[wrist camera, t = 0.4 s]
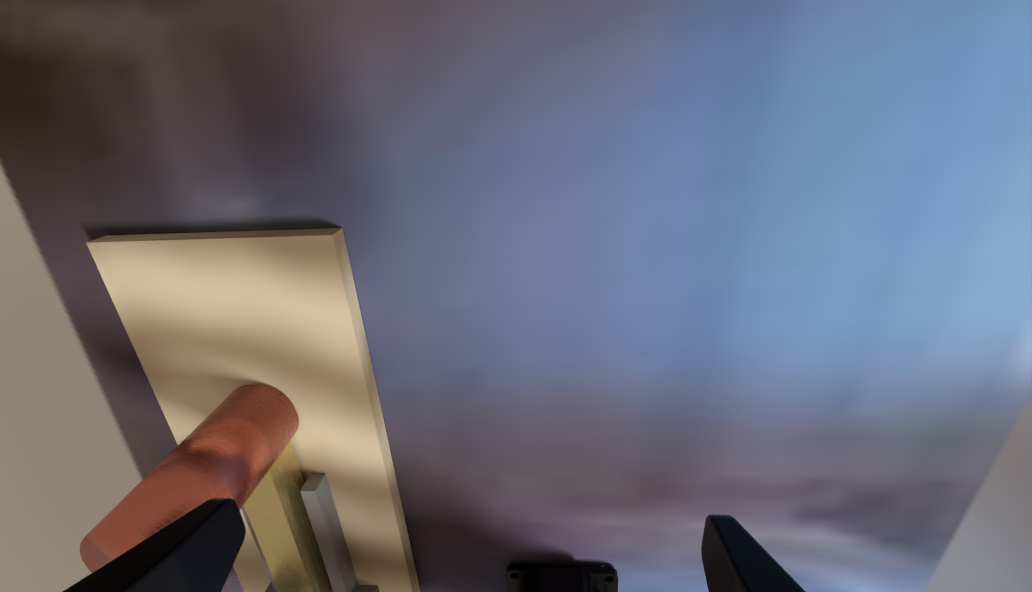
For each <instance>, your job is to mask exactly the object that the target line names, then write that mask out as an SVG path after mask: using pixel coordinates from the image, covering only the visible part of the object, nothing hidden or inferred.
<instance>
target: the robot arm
mask: <svg viewBox="0 0 1032 592" xmlns="http://www.w3.org/2000/svg"><path fill="white" fill-rule="evenodd" d="M245 534H246V528H245V524H244V522H243V519H242V516H241V513H240V510H239V508H238V505H237V503H236V501H235V500H234V499H233V498H219V497H215V498H211V499H209V500H207V501H205V502H204V503H202V504H201V505H199V506H197V507H196V508H194V509H193V510H191V511H189V512H188V513H186V514H185V515H183V516H182V517H180V518H178V519H177V520H175V521H174V522H172V523H171V524H169V525H167V526H166V527H164V528H163V529H161V530H159V531H158V532H156V533H155V534H153V535H152V536H150V537H148V538H147V539H145V540H144V541H142V542H140V543H139V544H137V545H136V546H134V547H133V548H131V549H129V550H128V551H126V552H125V553H123V554H122V555H120V556H118V557H117V558H115V559H114V560H112V561H110V562H109V563H107V564H106V565H104V566H103V567H101V568H99V569H98V570H96V571H95V572H93V573H92V574H90V575H88V576H87V577H85V578H84V579H82V580H80V581H79V582H77V583H76V584H74V585H73V586H71V587H69V588H68V589H66V590H65V591H63V592H221V591H222V588H223V586H224V584H225V582H226V580H227V577H228V575H229V573H230V571H231V568H232V566H233V564H234V562H235V560H236V557H237V555H238V553H239V551H240V549H241V546H242V544H243V542H244V539H245ZM701 552H702V561H703V566H704V571H705V575H706V580H707V585H708V590H709V592H805V591H804V590H803V589H802V588H801V587H800V585H799V584H798V583H797V582H796V581H795V580H794V579H793V578H792V577H791V576H790V575H789V574H788V573H787V572H786V571H785V570H784V569H783V568H782V567H781V566H780V565H779V564H778V563H777V562H776V561H775V560H774V559H773V558H772V557H771V556H770V555H769V553H768V552H767V551H766V550H765V549H764V548H763V547H762V546H761V545H760V544H759V543H758V542H757V541H756V540H755V539H754V538H753V537H752V536H751V535H750V534H749V533H748V532H747V531H746V530H745V529H744V528H743V527H742V526H741V525H740V524H739V522H738V521H737V520H736V519H735V518H733V517H732V516H730V515H713V514H711V515H708V516H707V518H706V521H705V528H704V534H703V540H702V548H701ZM506 576H507V587H508V592H617V591H618V575H617V571H616V570H615V569H614V568H611V567H591V566H562V565H533V564H511V565H509V566H508V567H507V575H506Z"/></svg>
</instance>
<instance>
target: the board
mask: <svg viewBox="0 0 1032 592" xmlns="http://www.w3.org/2000/svg"><path fill="white" fill-rule="evenodd" d="M87 245H88V248H89V250H90V252H91V254H92V257H93V259H94V261H95V263H96V265H97V268H98V270H99V272H100V274H101V276H102V279H103V281H104V283H105V285H106V287H107V290H108V292H109V294H110V296H111V298H112V301H113V303H114V305H115V307H116V309H117V312H118V314H119V316H120V318H121V321H122V323H123V325H124V327H125V329H126V332H127V334H128V336H129V338H130V340H131V343H132V345H133V347H134V349H135V351H136V354H137V356H138V358H139V360H140V362H141V365H142V367H143V369H144V371H145V373H146V376H147V378H148V380H149V382H150V385H151V387H152V389H153V391H154V393H155V396H156V398H157V400H158V402H159V404H160V407H161V409H162V411H163V413H164V415H165V418H166V420H167V422H168V424H169V426H170V429H171V431H172V433H173V435H174V437H175V440H176V442H177V444H178V445H179V444H180V443H181V442H182V441H183V440H184V439H185V438H186V437H187V436H188V435H189V434H190V433H191V432H192V431H193V430H194V429H195V428H196V427H197V426H198V425H199V424H200V423H201V422H202V421H203V420H204V419H205V418H206V417H207V416H208V415H209V414H210V413H212V412H213V411H214V410H215V409H216V408H217V407H218V406H219V405H220V404H221V403H222V402H223V401H224V400H225V399H226V398H227V397H228V396H229V395H230V394H231V393H232V392H233V391H234V390H235V389H237V388H239V387H241V386H244V385H262V386H266V387H269V388H271V389H274V390H276V391H277V392H279V393H281V394H282V395H283V396H285V397H286V398H287V399H288V400H289V401H290V402H291V403H292V405H293V406H294V408H295V409H296V411H297V414H298V418H299V427H298V430H297V432H296V433H295V435H294V436H293V438H292V439H291V443H292V446H293V449H294V452H295V455H296V458H297V462H298V465H299V468H300V471H301V474H302V477H303V480H304V483H305V484H304V485H303V487H302V489H301V490H300V492H301V495H302V498H303V501H304V504H305V507H306V510H307V513H308V516H309V519H310V522H311V525H312V528H313V531H314V534H315V537H316V540H317V543H318V546H319V549H320V552H321V555H322V558H323V561H324V564H325V567H326V570H327V573H328V576H329V579H330V582H331V585H332V588H333V591H334V592H420V588H419V583H418V578H417V574H416V569H415V564H414V560H413V555H412V550H411V546H410V541H409V536H408V532H407V527H406V522H405V518H404V513H403V508H402V504H401V499H400V494H399V490H398V485H397V480H396V476H395V471H394V466H393V462H392V457H391V452H390V448H389V443H388V438H387V434H386V429H385V424H384V420H383V415H382V410H381V406H380V401H379V396H378V392H377V387H376V382H375V378H374V373H373V368H372V364H371V359H370V354H369V350H368V345H367V340H366V336H365V331H364V326H363V322H362V317H361V312H360V308H359V303H358V298H357V294H356V289H355V284H354V280H353V275H352V270H351V266H350V261H349V256H348V252H347V247H346V242H345V238H344V233H343V228H327V229H295V230H264V231H232V232H201V233H169V234H138V235H106V236H103V237H101V238H98V239H95V240H92V241H89V242H87ZM240 513H241V516H242V519H243V522H244V524H245V528H246V534H245V539H244V542H243V544H242V546H241V549H240V551H239V553H238V555H237V557H236V560H235V562H234V564H233V568H234V570H235V572H236V574H237V577H238V579H239V581H240V583H241V585H242V588H243V590H244V592H279V591H278V589H277V586H276V584H275V582H274V579H273V577H272V574H271V572H270V569H269V567H268V564H267V562H266V559H265V557H264V554H263V552H262V550H261V547H260V545H259V542H258V540H257V537H256V535H255V532H254V530H253V527H252V525H251V522H250V520H249V518H248V515H247V513H246V510H245V508H244V505H243V507H242V508H241V509H240Z"/></svg>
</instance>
